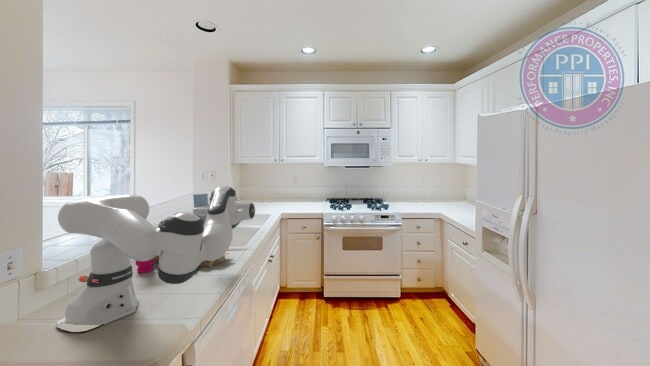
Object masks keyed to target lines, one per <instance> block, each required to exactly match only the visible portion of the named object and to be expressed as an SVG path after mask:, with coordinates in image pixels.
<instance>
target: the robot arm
mask: <svg viewBox="0 0 650 366" xmlns="http://www.w3.org/2000/svg"><path fill="white" fill-rule="evenodd" d="M236 192H237V191H236V190H235V189H234V188H233V187H231V186H229V185H222V186H218V187H216V188H214V189H213V190H212V191H211V193H210V197H211V201H210V204H208V205H206V206H201V207H195V208H194V207H193V208H192V213H191V212H176V213H174V214H171V215H170V216H168V217H167V218H166V219H163V220H161V221H160V222H159V223H158V226H154V225H153V224H152V223H150V222H149V221H148V220H147V218H148V217H149V214H150V205H149V203H148V201H147V199H146V198H145V197H143V196H142V195H134V194H123V195H122V194H121V195H112V196H111V195H110V196H101V197H92V198H83V199H79V200H74V201H70V202H67V203H65V204H64V205H62V206H61V208H60V210H59V211H58V213H57V214H58V215H57V221H58V225H59V226H60V228H61V229H62V230H63V231H65V232H66V233H68V234H74V235H75V234H76V235H77V234H78V235H87V236H92V237H96V238H99V239H101V240H99V241H97V242H96V243H94V245H93V246H92V247H91V248H90V252H89V255H90V256H89V257H90V269H91V271H90V272H89V275H88V276H87V275H79V277H78V282H79V283H86V285H85V286H84V287H83V288H82V289H81V290H80V291H79V292H78V293H77V294H76V295H75V296H74V297H73V298H72V299H71V300H70V301H68V303H67V305H66V308H65V314H64V315H65V316H64V317H63V318H62V319H59V320H58V321H56V325H57V324H73V325H101V324H104V325H106V324H109V323H111V322H113V321H116V320H119V319H121V318H123V317H126V316H129V315H131V314H133V313H135V312H137V306H138V305H139V300H138V298H137V295H136V291H135V287H134V283H133V264H132V263H131V260H134V261H136V260H137V261H148V260H150V259H153V258H154V257H156V256H157V255H158V256H159V262H158V263H157V265H156V266H157V275H158V278H159V280H161V281H162V282H164V283H165V284H169V285H180V284H183V283H186V282H187V281H188V280H190V279H191V278H193V276H194V275H195V274H197V273H198V272H199V271H201V270H202V266H201V265H200V263H201V262H202V261H204V260H208V261H213V260H217V259H219V258H220V257H222V256H223V255H224V254H225V253H227V252H228V251H229V248H230V247H231V244H232V243H233V239H234V238H233V236H234V235H233V234H234V233H233V229H235V228H237V227H238V225H239V224H240V223H241V222H243V221H247V220H253V219H254V218H255V216H256V215H255V214H256V208H255V204H254V203H253V202H251V201H247V200H237V195H236V194H237V193H236ZM199 216H207V217H206V220H205V223H204V222H203V219H202V218H201V217H199ZM157 227H159V228H157ZM227 250H228V251H227ZM196 272H197V273H196Z"/></svg>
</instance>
